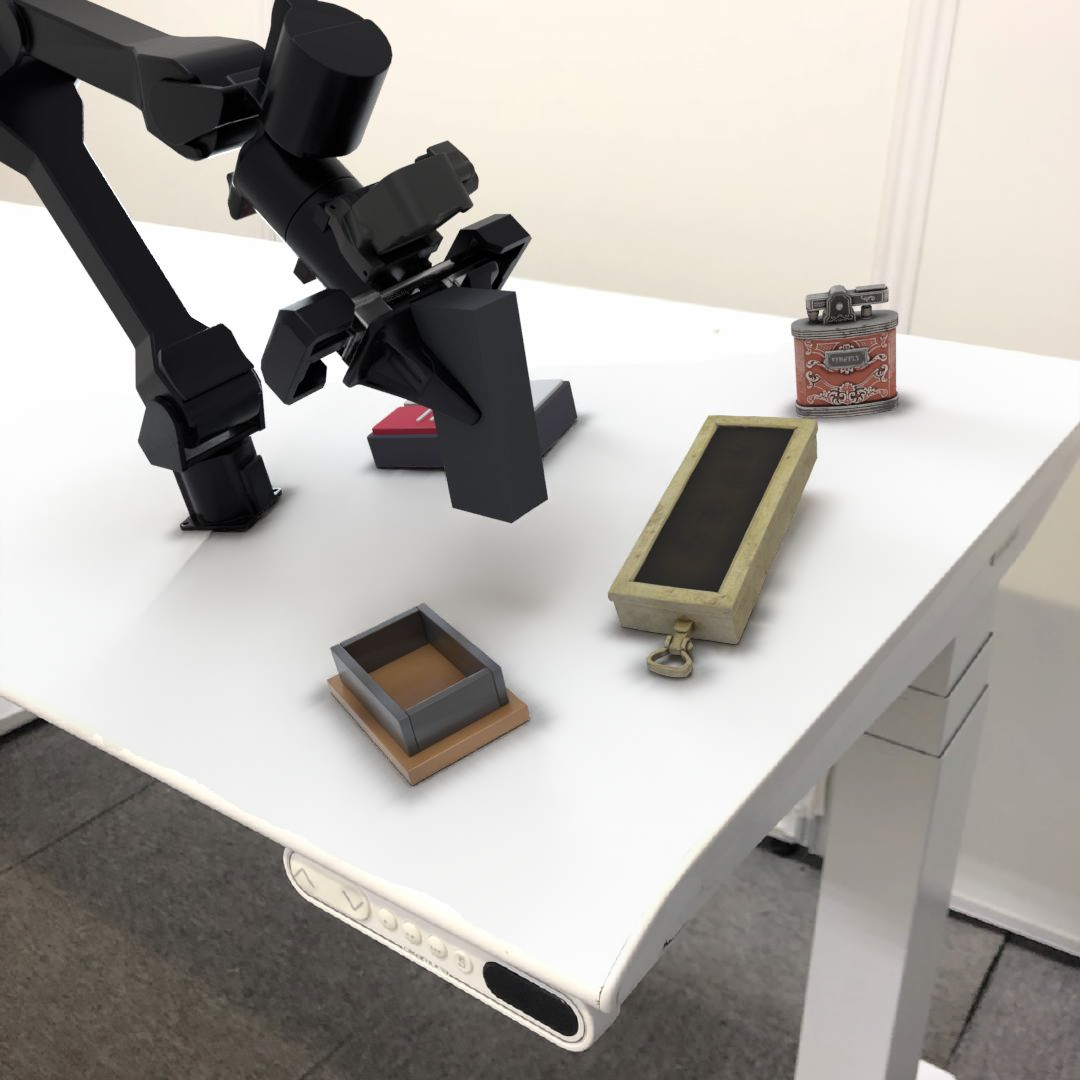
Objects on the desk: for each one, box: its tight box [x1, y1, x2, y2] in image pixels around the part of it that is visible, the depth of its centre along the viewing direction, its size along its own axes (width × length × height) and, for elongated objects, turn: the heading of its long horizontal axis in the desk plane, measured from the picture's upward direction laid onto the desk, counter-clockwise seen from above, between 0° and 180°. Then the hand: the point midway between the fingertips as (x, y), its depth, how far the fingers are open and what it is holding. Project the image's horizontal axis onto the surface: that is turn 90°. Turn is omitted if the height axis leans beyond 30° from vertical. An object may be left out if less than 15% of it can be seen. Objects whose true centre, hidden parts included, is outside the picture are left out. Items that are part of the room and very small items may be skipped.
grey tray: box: [326, 602, 531, 786], centre depth 59 cm, size 11×8×4 cm
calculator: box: [366, 378, 578, 468], centre depth 90 cm, size 11×4×15 cm
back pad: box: [411, 287, 549, 524], centre depth 61 cm, size 5×4×13 cm
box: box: [607, 414, 819, 678], centre depth 65 cm, size 8×22×5 cm, turn 154°
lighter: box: [790, 283, 899, 419], centre depth 82 cm, size 8×3×10 cm, turn 80°
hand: (499, 407), depth 60 cm, fingers closed on back pad, 3 cm apart
